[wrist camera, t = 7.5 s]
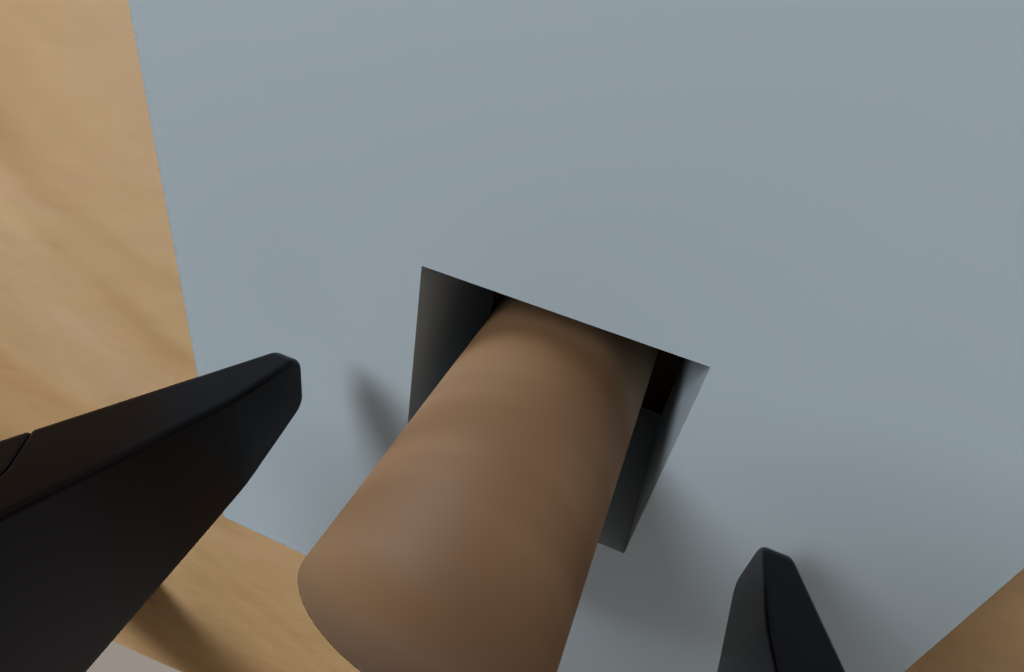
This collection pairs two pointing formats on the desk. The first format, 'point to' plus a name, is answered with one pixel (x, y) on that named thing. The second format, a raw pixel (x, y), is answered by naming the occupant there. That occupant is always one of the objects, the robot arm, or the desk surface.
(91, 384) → the desk surface
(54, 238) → the desk surface
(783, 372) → the socket block
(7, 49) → the desk surface
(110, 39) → the desk surface
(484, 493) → the peg
